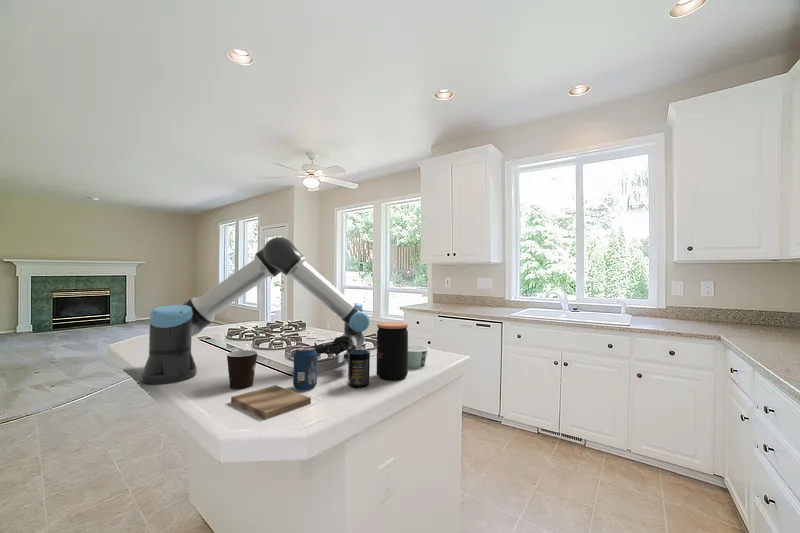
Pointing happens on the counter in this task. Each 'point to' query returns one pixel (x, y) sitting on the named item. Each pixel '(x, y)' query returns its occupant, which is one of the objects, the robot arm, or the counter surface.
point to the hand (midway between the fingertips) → (319, 357)
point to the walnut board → (270, 401)
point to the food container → (417, 355)
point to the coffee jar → (392, 350)
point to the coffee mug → (241, 368)
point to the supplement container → (358, 368)
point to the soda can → (305, 368)
